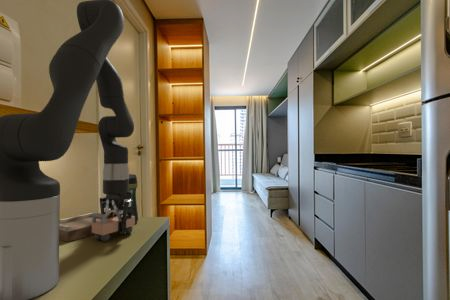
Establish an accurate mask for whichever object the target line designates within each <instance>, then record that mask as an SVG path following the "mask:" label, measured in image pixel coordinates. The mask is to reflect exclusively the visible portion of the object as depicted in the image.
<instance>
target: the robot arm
mask: <svg viewBox="0 0 450 300" xmlns="http://www.w3.org/2000/svg"><path fill="white" fill-rule="evenodd" d="M76 19H77V22H78V26H79V29H80V31H79V32H77V33H76V34H74V35H73V36H71V37H69V38H68V39H67V40H65V41H64V42H63V43H62V44H61V45H60V46H59V47H58V49H57V50H56V52H55V54H54V55H53V56H52V58H51V60H50V62H49V65H48V73H49V78H50V81H51V84H52V87H53V92H52V95H51V97H50V99H49V101H48V102H47V104H45V106H44V107H43V109H42V110H41V111H39V112H37V113H33V112H32V113H8V114H3V115H2V116H0V300H31V299H33V298H36V297H39V296H41V295H43V294H45V293H46V292H49V291H50V290H52V289H53V288H54V287H56V286H57V285H58V284H59V280H60V278H59V277H60V239H59V220H61V219H60V216H61V215H60V210H61V209H60V208H61V207H60V205H61V202H60V201H61V184H60V182H59V180H57V179H55V178H53V177H51V176H49V175H47V174H45V173H44V172H43V170H41V168H40V167H41V166H40V162H52V161H56V160H59V159H60V158H62V157H64V155H65V154H66V153H67V152H68V150H69V149H70V147H71V144H72V143H73V142H72V141H73V140H74V137H75V133H76V130H77V127H78V123H79V120H80V118H81V115H82V114H81V113H82V112H83V108H84V106H85V103H86V101H87V99H88V96H89V94H90V92H91V90H92V88H93V87H94V84H95V83H96V85H97V92H98V98H99V102H100V105H101V107H102V108H104V109H110V110H112V112H113V113H114V115H106V116H103V117H101V118H100V120H99V121H98V124H97V131H98V136H99V138H100V143H101V146H102V149H103V170H102V194H104V195H105V196H103V197H100V198H99V207H100V214H105V215H106V219H108V218H112V217H113V216H114V213H115V214H116V215H117V216H118V220H119V222H118V231H117V233H118V234H120V235H122V234H124V233H125V232H126V220H127V219H131V217H132V210H133V202H134V201H133V200H128V199H127V197H126V193H127V192H128V191H129V174H130V168H129V149H128V147H127V146H126V145H123V144H119V143H118V142H117V139H116V138H128V137H130V136H132V135H133V133H134V130H135V122H134V120H133V117H132V115H131V113H130V111H129V108H128V106H127V103H126V101H125V97H124V96H125V94H124V88H123V82H122V78H121V77H120V75H119V73H118V71H117V69H116V68H115V67H114V66H113V64H112V63H111V61H110V60H109V59H108V57H107V56H108V55H109V52H110V51H111V49H112V48H113V46H114V45H115V44H116V42H117V40H118V39H119V38H120V36H121V35H122V33H123V30H124V25H125V19H124V14H123V11H122V9H121V7H120V6H119V5H118V4H117V3H116V2H115V1H113V0H84V1H81V2H79V3H78V4H77V5H76ZM122 209H123V210H122ZM119 210H122V211H119ZM127 212H128V215H127ZM121 213H122V214H123V216H121ZM125 234H126V233H125Z"/></svg>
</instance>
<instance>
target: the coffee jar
mask: <svg viewBox="0 0 450 300" xmlns="http://www.w3.org/2000/svg"><path fill="white" fill-rule="evenodd" d="M138 186H139V185H138V178H137V175H136V174H132V173H129V191H128V192H127V193H126V197H127V199H128V200H133V201H134V202H133V210H132V216H135V224H136V223H137V222H139V213H138V205H137V204H138V203H137V188H138ZM122 210H123V209H122ZM122 210H119V211H122ZM121 215H123V214H122V213H121ZM127 215H128V212H127ZM116 216H117V215H116V214H115V213H114V216H113V217H116Z"/></svg>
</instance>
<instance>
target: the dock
mask: <svg viewBox="0 0 450 300" xmlns="http://www.w3.org/2000/svg"><path fill="white" fill-rule="evenodd" d="M92 213H96V211H95V212H90V213H86V214H81V215H76V216H71V217H68V218H67V217H66V218H63V219H60V220H59V241H63V242H66V243H69V242H73V241H75V240H79V239H83V238H86V237H90V236H93V235H95V233H92ZM100 220H101V217H96V221H100Z"/></svg>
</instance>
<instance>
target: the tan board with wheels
mask: <svg viewBox="0 0 450 300" xmlns="http://www.w3.org/2000/svg"><path fill="white" fill-rule="evenodd" d="M91 213H92V233H95V234H94V239H95V240H96V241H100V240H101V242H103V243H105V242H108V241H109V240H110V237H111V236H110V234H112V233H115V232H118V222H119V220H118V216H116V217H112V218H108V219H106V215H105V214H101V212H95V213H94V212H91ZM121 216H123V215H121ZM96 217H101V220H100V221H96ZM133 226H136V223H135V216H132V217H131V219H127V220H126V232H125V234H128V235H129V234H131V233H132V232H133Z"/></svg>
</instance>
